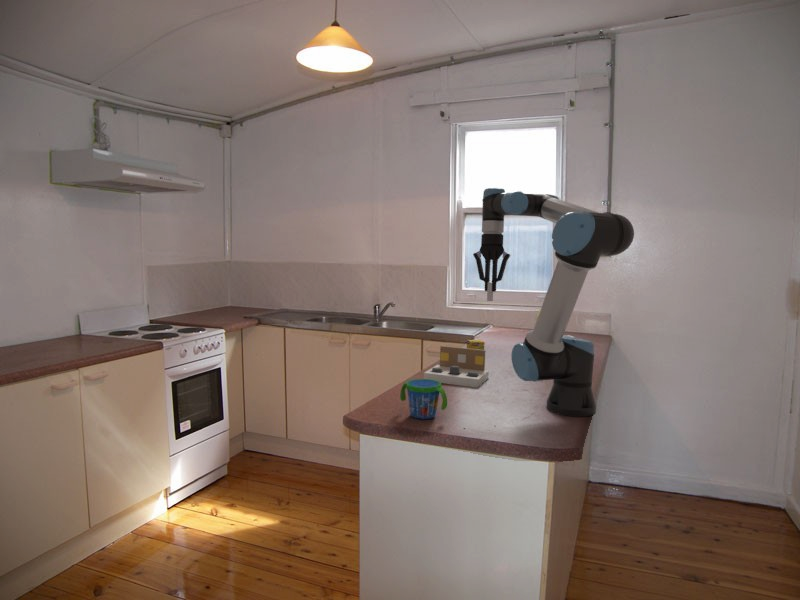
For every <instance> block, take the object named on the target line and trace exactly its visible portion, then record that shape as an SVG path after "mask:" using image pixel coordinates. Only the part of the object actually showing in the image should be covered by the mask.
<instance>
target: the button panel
mask: <svg viewBox="0 0 800 600" xmlns="http://www.w3.org/2000/svg"><path fill="white" fill-rule="evenodd" d="M439 349H440V351H439V353H440V354H439V364H436V365H435V366H433V367H431V368H429V369H428V370H426V371H424V372H423V379H430V380H436V381H438V382H440V383H441V384H449V385H456V386H463V387H471V388H479V387H481V385H482V383H483V384H484V383H485V382H486V381H487V380H489V371H490V370H486V368H485V367H486V350H485V349H484V350H478V349H468V348H466V347H458V346H457V347H455V346H448V345H447V346H446V345H440V348H439ZM450 366H459V367H460V370H459V375H453V374H450ZM432 368H442V373H436V372H432ZM468 372H477V373H478V376H477V377H469V376H468Z"/></svg>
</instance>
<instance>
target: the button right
mask: <svg viewBox="0 0 800 600" xmlns="http://www.w3.org/2000/svg"><path fill="white" fill-rule="evenodd" d="M468 376H469V377H477V376H478V373H477V372H468Z"/></svg>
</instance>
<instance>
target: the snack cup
mask: <svg viewBox="0 0 800 600" xmlns="http://www.w3.org/2000/svg"><path fill="white" fill-rule="evenodd" d="M406 390H407V395H406ZM407 396H408V397H407ZM439 396H441V399H442V402H441V408H440V409H441V411H445V410H446V408H447V407H448V398H447V393H446V390H445V389H444V388H443V387H442V383H440V382H438V381H436V380H430V379H424V378H417V379H414V378H413V379H409V380H408V381H406V382H404V383H403V385H402V387H401V390H400V396H399V399H400V400H401V401H402V402H404V401H406V400H407V399H408V407H409V413H410V416H411V418H415V419H419V420H428V419H434V418H435V417H436V413H437V409H438V404H439Z"/></svg>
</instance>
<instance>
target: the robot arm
mask: <svg viewBox="0 0 800 600" xmlns="http://www.w3.org/2000/svg"><path fill="white" fill-rule="evenodd" d="M482 196H483V197H482V212H481V213H482V214H481V215H482V217H481V219H482V220H481V232H482V234H481V242H480V243H481V244H480V248H479V250H478V251H477V252H475V253H473V254H472V255H473V257H474V259H475V262H476V267H477V272H478V277H479V280H480V281H482V282H484V291H485V292H487V293H486V298H487V299H486V301H487V302H493V301H494V292H496V291H497V283H498V282H500V281H502V280H503V277H504V274H505V270H506V267H507V263H508V260H509V259H510V258H511V254H510V253H508V252H506V251H505V248H504V234H503V233H504V230H505V229H504V227H505V226H504V224H505V216H520V217H521V216H523V217H539V218H541V219H544V220H546V221H549V222H551V223H554V226H553V230H552V233H551V239H552V241H551V245H552V247H553V249H554V251H555V252H554V256H555V258H556V260H557V263H556V266H555V269H554V272H553V275H552V278H551V280H550V282H549V285H548V287H547V288H548V289H547V291H546V293H545V297H544V299H543V302H542V304H541V308H540V309H541V310H540V309H539V310H540V313H539V316H538V319H537V321H536V324H535V323H534V327H533V329H532V330H529V331H528V332H526V334H525V338H524V340H523V342H518V343H516V344H515V345H513V347H512V349H511V363H512V367H513V370H514V372H515V373H516V376H517V377H518V378H520V380H522V381H524V382H538V381H549V380H550V381H551V380H553V383H552V387H551V389H550V392H549V394H548V396H547V399H546V409H547V410H548V411H550V412H552V413H555V414H558V413H559V414H558V415H562V414H564V415H563V416H567V415H570V416H569V417H578V416H583V417H590V416H591V417H592V416H594V415H596V414H597V403H596V399H595V396H594V391H593V387H592V386H593V385H592V383H593V372H594V371H593V370H594V361H595V347H594V345H595V344H594V343H593V342H592V341H590V340H588V339H583V338H577V337H576V338H573V337H567V335H565V332H566V330H567V328H568V327H567V326H568V324H569V322H570V319H571V317H572V314H573V311H574V309H575V306H576V303H577V301H578V298H579V296H580V293H581V291H582V288H583V286H584V283H585V280H586V278H587V276H588V273H589V271H590V270H593V269H595V268H596V267H597V266H598V263H599V261H600V259H601V257H612V256H613V257H614V256H617V255H620V254H623V253H625V251H626V250H627V249H629V248H630V246H631V245H632V243H633V241H634V237H635V229H634V226H633V224H632V221H630V220H629V218H627V217H626V216H624V215H622V214H617V213H613V212H610V211H609V212H608V211H604V212H598V211H595V210H592V209H589V208H586V207H584V206H580V205H577V204H575V203H571V202H568V201H565V200H562V199H560V198H559V197H558V196H557V195H554V194H549V193H546V194H541V193H530V192H523V191H520V190H511V191H507V192H506V190H505V189H504V188H501V187H490V188H489V187H487V188H485V189H484V190H483V195H482ZM482 256H483V258H484V264H485V265H484V268H483V263H482ZM501 256H502V261H501V264H500V268H499V271H498V263H499V262H498V261H499V259H500V257H501ZM491 262H492V268H491ZM491 269H492V271H491ZM491 273H492V274H491ZM490 276H491V277H490ZM490 278H491V280H490Z"/></svg>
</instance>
